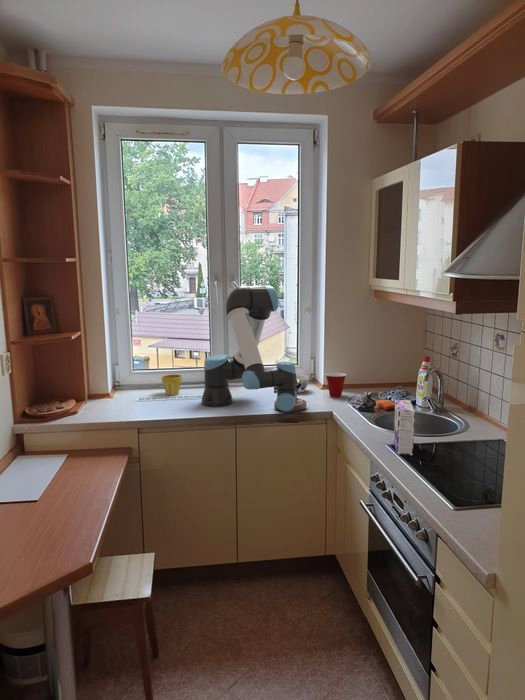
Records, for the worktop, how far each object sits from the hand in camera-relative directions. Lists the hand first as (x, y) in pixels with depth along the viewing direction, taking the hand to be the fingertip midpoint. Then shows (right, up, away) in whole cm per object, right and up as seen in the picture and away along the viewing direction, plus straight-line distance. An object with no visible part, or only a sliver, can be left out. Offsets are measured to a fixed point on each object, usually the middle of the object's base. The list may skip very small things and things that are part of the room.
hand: (291, 382), depth 235 cm
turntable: (-1, -12, -3) cm, 13 cm away
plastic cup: (+24, -9, +18) cm, 31 cm away
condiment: (0, -8, -4) cm, 9 cm away
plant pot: (-61, -8, +25) cm, 67 cm away
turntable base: (-1, -12, -3) cm, 13 cm away
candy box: (+38, -21, -55) cm, 70 cm away
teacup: (+4, -7, +29) cm, 30 cm away
